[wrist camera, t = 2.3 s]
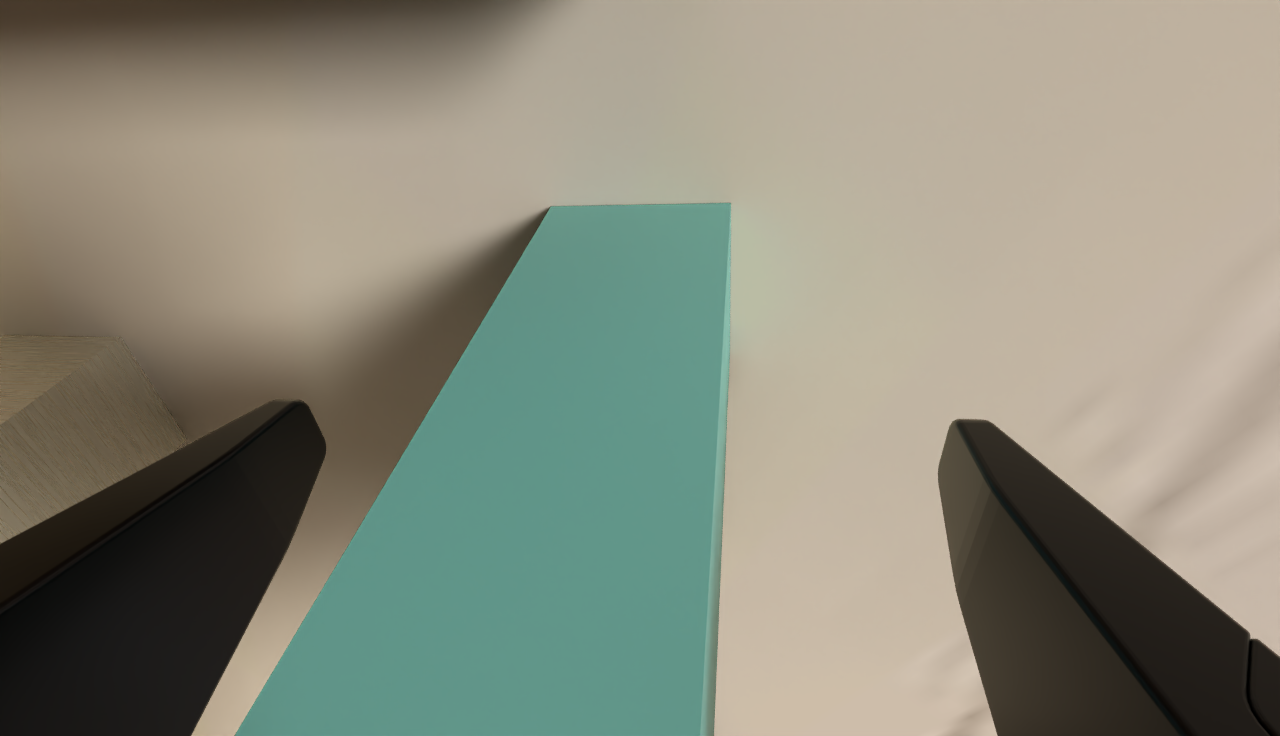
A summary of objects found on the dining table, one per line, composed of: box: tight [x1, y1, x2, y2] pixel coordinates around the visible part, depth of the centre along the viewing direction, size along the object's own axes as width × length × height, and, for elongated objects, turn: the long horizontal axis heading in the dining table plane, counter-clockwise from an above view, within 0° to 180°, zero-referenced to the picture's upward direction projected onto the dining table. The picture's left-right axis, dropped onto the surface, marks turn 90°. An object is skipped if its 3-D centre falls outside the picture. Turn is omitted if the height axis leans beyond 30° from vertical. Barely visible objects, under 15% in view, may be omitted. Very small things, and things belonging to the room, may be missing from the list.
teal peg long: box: [235, 203, 731, 736], centre depth 9 cm, size 3×3×10 cm
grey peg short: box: [0, 335, 187, 544], centre depth 15 cm, size 3×3×4 cm
